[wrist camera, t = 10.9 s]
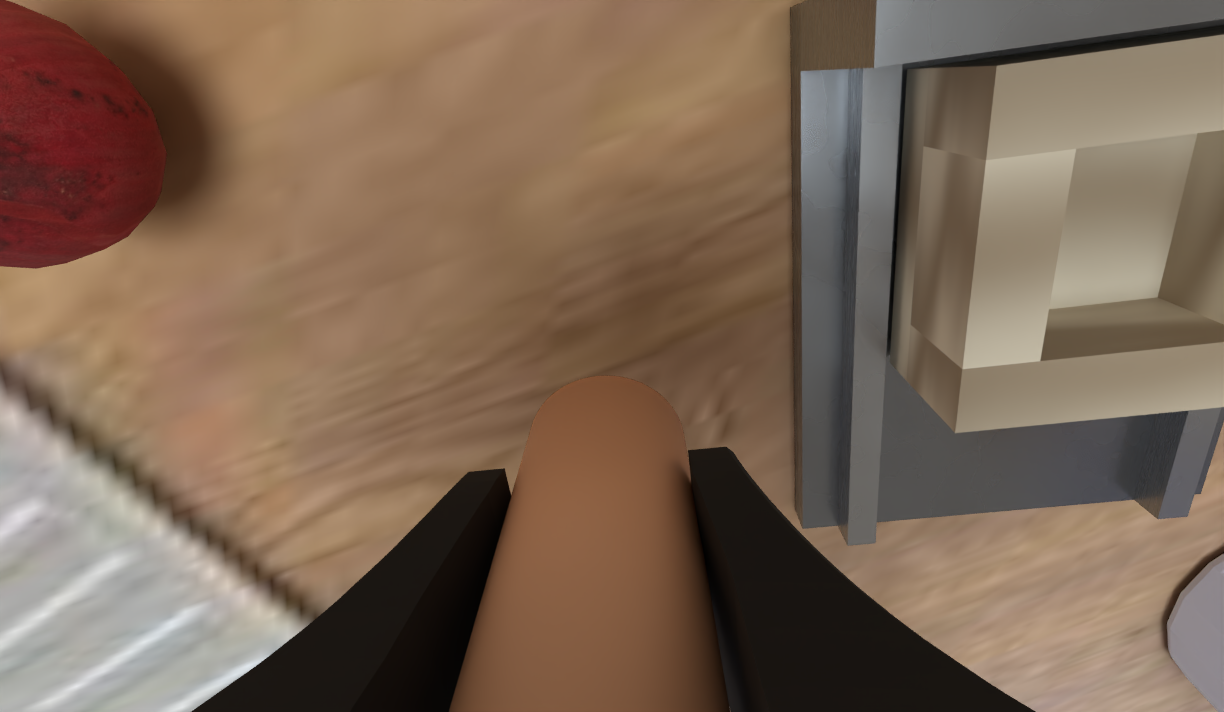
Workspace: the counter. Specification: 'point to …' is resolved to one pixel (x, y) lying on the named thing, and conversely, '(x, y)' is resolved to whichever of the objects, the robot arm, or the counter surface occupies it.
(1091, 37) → the slide base
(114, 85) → the onion
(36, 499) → the counter surface
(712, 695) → the dowel
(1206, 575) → the soap bottle
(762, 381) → the counter surface
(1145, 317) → the sliding block
